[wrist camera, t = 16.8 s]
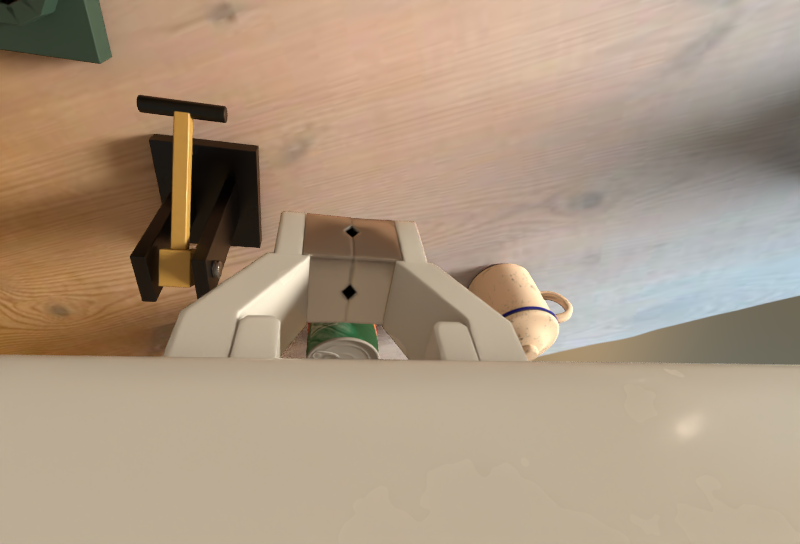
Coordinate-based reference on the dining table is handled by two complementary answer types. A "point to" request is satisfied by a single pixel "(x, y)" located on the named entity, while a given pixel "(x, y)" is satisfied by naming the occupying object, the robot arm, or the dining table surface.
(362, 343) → the canned tomato
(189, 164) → the tap lever
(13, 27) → the button housing
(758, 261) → the dining table surface
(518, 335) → the teacup with lid
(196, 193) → the lever stand
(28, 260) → the dining table surface
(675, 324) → the dining table surface
